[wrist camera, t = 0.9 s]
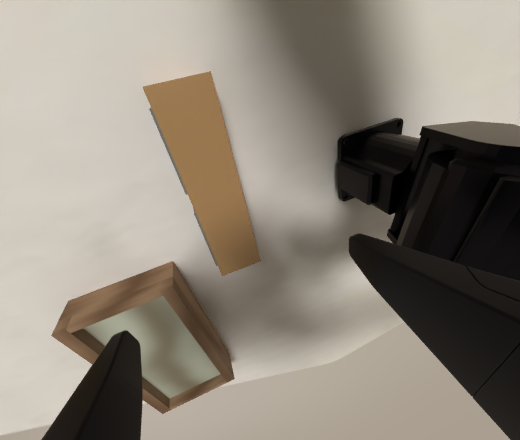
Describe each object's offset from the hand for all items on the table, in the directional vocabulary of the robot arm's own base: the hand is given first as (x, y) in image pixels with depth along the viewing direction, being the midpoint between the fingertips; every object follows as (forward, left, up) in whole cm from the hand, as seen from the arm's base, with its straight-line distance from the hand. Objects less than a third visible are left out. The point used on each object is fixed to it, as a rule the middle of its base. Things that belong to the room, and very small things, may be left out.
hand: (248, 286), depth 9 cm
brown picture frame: (+10, +15, -11) cm, 21 cm away
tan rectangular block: (0, 0, -12) cm, 12 cm away
